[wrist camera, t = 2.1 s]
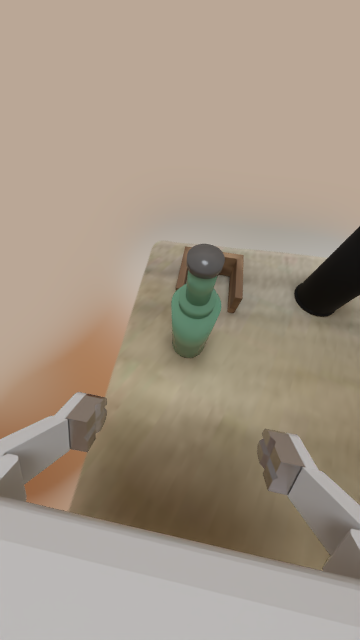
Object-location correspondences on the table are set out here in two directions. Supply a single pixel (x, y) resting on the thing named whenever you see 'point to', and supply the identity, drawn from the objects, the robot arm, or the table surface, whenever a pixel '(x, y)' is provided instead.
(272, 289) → the table surface
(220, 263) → the bottle
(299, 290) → the aerosol can
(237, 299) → the u rest
